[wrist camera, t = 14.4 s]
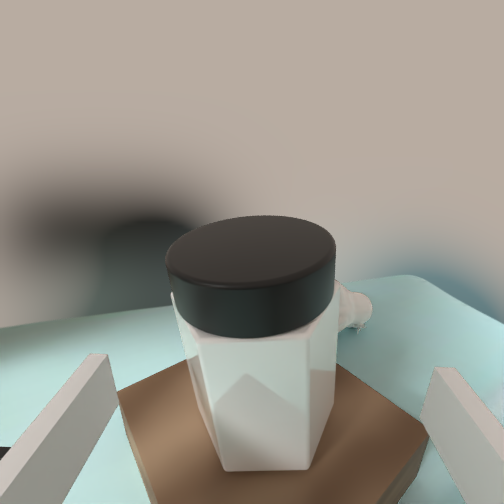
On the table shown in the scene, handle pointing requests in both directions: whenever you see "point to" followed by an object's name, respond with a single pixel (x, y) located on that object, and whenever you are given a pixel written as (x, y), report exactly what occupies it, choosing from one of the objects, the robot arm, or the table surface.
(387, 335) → the table surface
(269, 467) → the jar
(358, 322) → the white animal figurine
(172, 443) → the walnut block
